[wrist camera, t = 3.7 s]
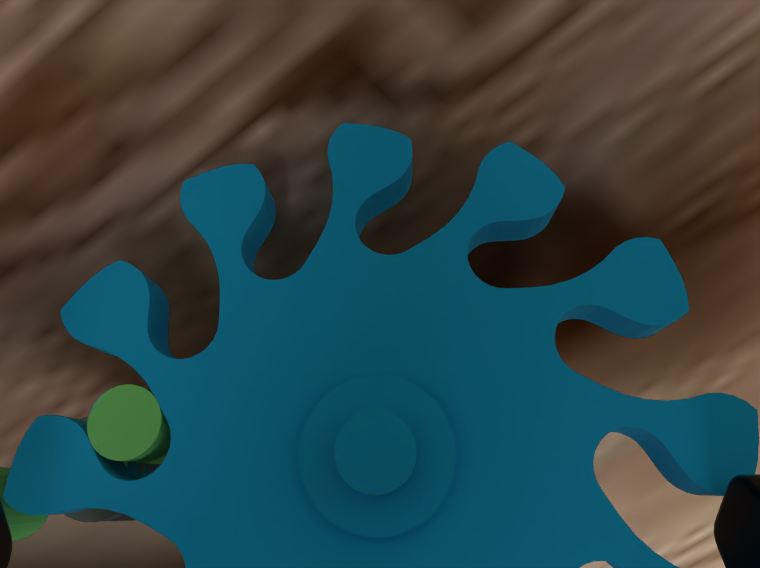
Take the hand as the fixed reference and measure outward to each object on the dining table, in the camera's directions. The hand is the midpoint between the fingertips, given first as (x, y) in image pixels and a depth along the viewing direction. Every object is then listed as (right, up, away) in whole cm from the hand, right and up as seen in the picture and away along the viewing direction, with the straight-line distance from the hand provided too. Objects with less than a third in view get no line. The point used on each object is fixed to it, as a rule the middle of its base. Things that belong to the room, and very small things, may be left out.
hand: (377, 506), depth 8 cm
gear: (-1, +2, +5) cm, 5 cm away
